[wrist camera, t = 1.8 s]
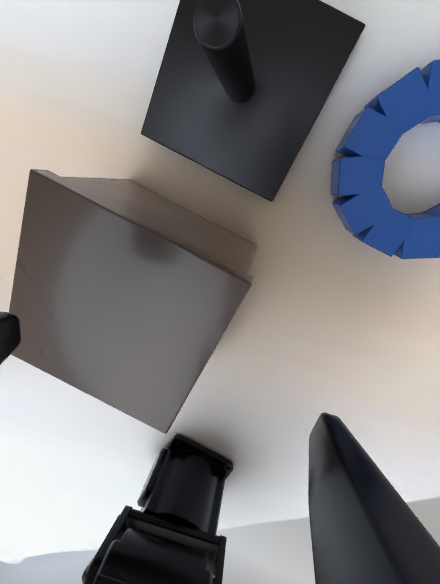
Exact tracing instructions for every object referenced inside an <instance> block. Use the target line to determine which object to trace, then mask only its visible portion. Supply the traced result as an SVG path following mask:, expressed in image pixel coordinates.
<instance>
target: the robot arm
mask: <svg viewBox="0 0 440 584" xmlns="http://www.w3.org/2000/svg"><path fill="white" fill-rule="evenodd" d="M20 342H21V331H20V320H19V318H18V317H17V316H16V315H13V314H10V313H7V312H0V364H1V363H2V362H3V361H4V360H5V359H6V358H7V357H8V356H9V355H10V354H11V353H12V352H13V351H14V350H15V349H16V348H17V347H18V346H19V344H20ZM233 466H234V465H233V463H232V462H231V461H229V460H227V459H225V458H223V457H221V456H219V455H217V454H216V453H214V452H212V451H210V450H208V449H206V448H204V447H202V446H200V445H198V444H196V443H194V442H192V441H190V440H188V439H186V438H184V437H182V436H181V435H175V436H174V437H173V439H172V441H171V442H170V444H169V446H168V448H167V449H166V448H163V449H162V450H161V452H160V453H159V455H158V457H157V459H156V460H155V462H154V464H153V467H152V469H151V471H150V473H149V476H148V478H147V480H146V483H145V485H144V487H143V490H142V492H141V494H140V497H139V499H138V501H137V502H138V506H140V507H142V509H141V511H138V510H135V509H132V507H130V506H127V505H126V506H125V508H124V510H123V511H122V513H121V515H119V516H118V517H117V519H116V521H115V523H114V524H113V526H112V528H111V529H110V531H109V533H108V535H107V536H106V538H105V540H104V542H103V543H102V545H101V547H100V548H99V550H98V552H97V554H96V555H95V556H94V558H93V559H92V561H91V562H90V563H89V565H88V566H87V567H86V569H85V571H84V573H83V576H82V582H83V584H222V577H223V567H224V557H225V546H226V537H225V536H222V535H220V536H217V535H216V531H217V525H218V519H219V513H220V507H221V501H222V495H223V489H224V483H225V479H226V478H227V477H228V476H229V474H230V473H231V472H232V471H233ZM308 495H309V516H310V527H311V539H312V550H313V561H314V572H315V583H316V584H440V547H439V545H438V544H437V543H436V541H435V540H434V539H433V537H432V536H431V535H430V534H429V532H428V531H427V530H426V528H425V527H424V526H423V525H422V523H421V522H420V521H419V519H418V518H417V517H416V516H415V514H414V513H413V512H412V511H411V509H410V508H409V507H408V505H407V504H406V503H405V501H404V500H403V499H402V498H401V496H400V495H399V494H398V492H397V491H396V490H395V489H394V487H393V486H392V485H391V484H390V482H389V481H388V480H387V478H386V477H385V476H384V475H383V473H382V472H381V471H380V469H379V468H378V467H377V466H376V464H375V463H374V462H373V460H372V459H371V458H370V457H369V455H368V454H367V453H366V451H365V450H364V449H363V448H362V446H361V445H360V444H359V442H358V441H357V440H356V439H355V437H354V436H353V435H352V434H351V432H350V431H349V430H348V428H347V427H346V426H345V425H344V423H343V422H342V421H341V419H340V418H339V417H337V416H335V415H331V414H328V413H322V414H321V415H320V416H319V418H318V420H317V422H316V424H315V426H314V428H313V430H312V432H311V434H310V438H309V490H308Z"/></svg>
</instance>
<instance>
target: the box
mask: <svg viewBox="0 0 440 584" xmlns="http://www.w3.org/2000/svg"><path fill="white" fill-rule="evenodd" d="M255 250H256V245H254V244H253V243H251V242H249V241H247V240H245V239H243V238H241V237H239V236H237V235H235V234H233V233H231V232H229V231H228V230H226V229H224V228H222V227H220V226H218V225H216V224H214V223H212V222H210V221H208V220H206V219H204V218H202V217H201V216H199V215H197V214H195V213H193V212H191V211H189V210H187V209H185V208H183V207H181V206H179V205H177V204H175V203H174V202H172V201H170V200H168V199H166V198H164V197H162V196H160V195H158V194H156V193H154V192H152V191H150V190H149V189H147V188H145V187H143V186H141V185H139V184H137V183H135V182H133V181H131V180H129V179H108V178H79V177H60V176H58V175H56V174H54V173H52V172H50V171H48V170H37V169H31V170H30V173H29V180H28V187H27V194H26V200H25V207H24V214H23V221H22V227H21V234H20V241H19V248H18V255H17V261H16V268H15V275H14V282H13V288H12V295H11V302H10V309H9V313H10V314H13V315H16V316H17V317H18V318H19V320H20V331H21V342H20V344H19V346H18V347H17V348H16V349H15V350H14V351H13V352H12V353H11V355H13V356H15V357H17V358H19V359H21V360H23V361H25V362H27V363H29V364H31V365H33V366H35V367H37V368H38V369H40V370H42V371H44V372H46V373H48V374H50V375H52V376H54V377H56V378H58V379H60V380H62V381H64V382H66V383H68V384H70V385H71V386H73V387H75V388H77V389H79V390H81V391H83V392H85V393H87V394H89V395H91V396H93V397H95V398H97V399H99V400H101V401H103V402H105V403H106V404H108V405H110V406H112V407H114V408H116V409H118V410H120V411H122V412H124V413H126V414H128V415H130V416H132V417H134V418H136V419H138V420H139V421H141V422H143V423H145V424H147V425H149V426H151V427H153V428H155V429H157V430H159V431H161V432H163V433H165V434H166V433H167V432H168V430H169V429H170V427H171V425H172V423H173V422H174V420H175V418H176V416H177V414H178V413H179V411H180V409H181V407H182V406H183V404H184V402H185V400H186V399H187V397H188V395H189V393H190V392H191V390H192V388H193V386H194V385H195V383H196V381H197V379H198V378H199V376H200V374H201V372H202V371H203V369H204V367H205V365H206V364H207V362H208V360H209V358H210V357H211V355H212V353H213V351H214V349H215V348H216V346H217V344H218V342H219V341H220V339H221V337H222V335H223V334H224V332H225V330H226V328H227V327H228V325H229V323H230V321H231V320H232V318H233V316H234V314H235V313H236V311H237V309H238V307H239V306H240V304H241V302H242V300H243V299H244V297H245V295H246V293H247V291H248V290H249V288H250V286H251V284H252V280H253V277H252V276H251V275H249V271H250V267H251V264H252V260H253V257H254V253H255Z"/></svg>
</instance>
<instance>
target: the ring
mask: <svg viewBox="0 0 440 584" xmlns="http://www.w3.org/2000/svg"><path fill="white" fill-rule="evenodd" d="M437 121H438V122H440V60H433V61H432V62H430V63H429V64H428V65H427V66H425V67H424V68H423V69H421V70H420V69H419V67H417V68H415V69H414V70H413V71H411V72H410V73H408V74H407V75H406V76H404V77H403V78H401V79H400V80H399V81H397V82H396V83H394V84H393V85H392V86H390V87H389V88H387V89H386V90H385V91H383V92H382V93H380V94H379V95H378V96H376V97H375V98H374V99H373V100H372V101H371V102H369V103H368V104H367V105H366V106H365V107H364V110H363V111H362V112H361V113H359V114H358V115H357V116H356V117H355V118H354V120H353V122H352V123H351V125H350V127H349V128H348V130H347V132H346V134H345V135H344V137H343V139H342V140H341V142H340V144H339V146H338V147H337V149H336V152H338V153H340V154H342V155H344V156H346V157H343V158H340V159H337V160H334V161H333V162H332V177H331V195H335V196H343V197H342V198H340V199H338V200H337V201H335V202H334V203H332V204H333V206H334V208H335V210H336V211H337V213H338V215H339V217H340V219H341V221H342V222H343V224H344V226H345V228H346V229H347V230H349V231H350V232H352V233H353V236H354V237H356V238H357V239H359V240H360V241H362V242H364V243H366V244H368V245H370V246H371V247H373V248H375V249H377V250H379V251H381V252H383V253H385V254H387V255H389V256H392V255H393V254H394V255H396V256H398V257H399V258H401V259H416V258H439V257H440V204H439V205H437V206H435V207H433V208H431V209H429V210H428V211H426V212H424V213H422V214H406V215H405V214H403V213H401V212H399V211H397V210H396V209H394V208H392V206H391V204H390V202H389V200H388V198H387V196H386V194H385V192H384V190H383V188H382V181H383V172H384V164H385V160H386V158H387V157H388V155H389V154H390V152H391V151H392V149H393V148H394V146H395V145H396V143H397V142H398V140H399V138H400V137H401V135H402V134H403V133H405V132H406V131H408V130H409V129H411V128H412V127H414V126H415V125H417V124H419V123H428V122H437Z"/></svg>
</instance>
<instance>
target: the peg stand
mask: <svg viewBox="0 0 440 584" xmlns="http://www.w3.org/2000/svg"><path fill="white" fill-rule="evenodd" d="M364 27H365V24H364V23H362V22H360V21H358V20H356V19H354V18H352V17H350V16H349V15H347V14H345V13H343V12H341V11H339V10H337V9H335V8H333V7H331V6H329V5H328V4H326V3H324V2H322V1H320V0H180V2H179V6H178V9H177V13H176V16H175V19H174V23H173V26H172V30H171V33H170V36H169V40H168V43H167V46H166V50H165V53H164V57H163V60H162V63H161V67H160V70H159V74H158V77H157V80H156V84H155V87H154V91H153V94H152V97H151V101H150V104H149V108H148V111H147V114H146V118H145V121H144V124H143V128H142V131H141V134H142V135H144V136H146V137H148V138H150V139H152V140H154V141H155V142H157V143H159V144H161V145H163V146H165V147H167V148H169V149H171V150H173V151H175V152H177V153H179V154H180V155H182V156H184V157H186V158H188V159H190V160H192V161H194V162H196V163H198V164H200V165H202V166H204V167H205V168H207V169H209V170H211V171H213V172H215V173H217V174H219V175H221V176H223V177H225V178H227V179H229V180H230V181H232V182H234V183H236V184H238V185H240V186H242V187H244V188H246V189H248V190H250V191H252V192H254V193H255V194H257V195H259V196H261V197H263V198H265V199H267V200H269V201H271V202H272V201H273V200H274V198H275V196H276V194H277V192H278V190H279V188H280V186H281V184H282V183H283V181H284V179H285V177H286V175H287V173H288V171H289V169H290V167H291V166H292V164H293V162H294V160H295V158H296V156H297V154H298V152H299V150H300V149H301V147H302V145H303V143H304V141H305V139H306V137H307V135H308V133H309V132H310V130H311V128H312V126H313V124H314V122H315V120H316V118H317V116H318V114H319V113H320V111H321V109H322V107H323V105H324V103H325V101H326V99H327V97H328V96H329V94H330V92H331V90H332V88H333V86H334V84H335V82H336V80H337V79H338V77H339V75H340V73H341V71H342V69H343V67H344V65H345V63H346V62H347V60H348V58H349V56H350V54H351V52H352V50H353V48H354V46H355V44H356V43H357V41H358V39H359V37H360V35H361V33H362V31H363V29H364Z"/></svg>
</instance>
